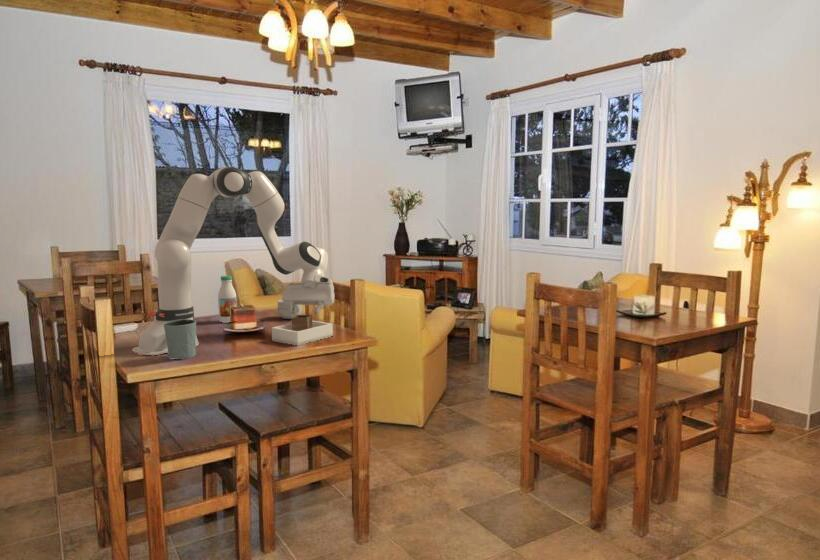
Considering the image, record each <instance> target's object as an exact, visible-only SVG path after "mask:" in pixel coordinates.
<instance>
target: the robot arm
mask: <svg viewBox="0 0 820 560" xmlns="http://www.w3.org/2000/svg"><path fill="white" fill-rule="evenodd" d="M239 196H244V197H245V198H246V199H247V200H248V202H249V203H250V205H251V206H252V208H253V210H254V211H255V214H256V220H255V222H256V223H255V224H256V226H257V230H258V232H259V234H260V236H261V238H262V241H263V243H264V245H265V246H266V247H265V248H266V249H267V251H268V253H269V255H270V257H271V260H272V264H273V266H274V268H275V270H276V271H277V272H278V273H280V274H282V275H290V274H292V273H294V272H296V271H297V270H299V271H300V270H302V271H303V273H302V276H301V280H300V283H297V282H296V283H294V282H293V283H292V282H291V283H288V284H286V286H285V287H284V291H283V294H282V297H281V300H283V302H284V303H285V304H287V305H290V306H291V313H296V309H295V307H293V306H295V305H302V306H317V307H314V310H313V312H314V314H315V315H318V314H320V311H322V309H323V308H324V306H332V305H333V304H335V299H336V298H335V297H336V296H335V286H334V282H333V281H332V279H331V278H329V277H325V276H326V274H327V271H328V266H329V255H328V253H327V251H326V250H325V249H324V248H323V247H315V246H314V245H313V244H312V243H310V242H307V241H301V242H299V243H296V244H294V245H291V246H289V247H287V248H286V247H284V246H283V245H282V243H281V240H280V239H279V237H278V234H277V232H276V230H275V226H276V223H277V222H278V220H279V219H280V218H281V217H282V215H283V213H284V210H285V202H284V199H283V197H282V196H281V195H280V193H279V191H278V189H277V188H276V187H275V185H274V184H273V183H272V182H271V180H270V179H269V178H268V177H267V175H266V174H264V173H263V172H262V171H259V170H255V171H251V172H245V171H244V170H242V169H240V168H238V167H235V166H222V167H219V168H217V169H214V170H213V171H212V172H211V173H209V174H208V175H205V174H203V173H193V174H191V175H190V176H189V177H188V178H187V180H186V181H185V183H184V184H183V187H182V188H181V190H180V192H179V194H178V196H177V199H176V201H175V203H174V206H173V209H172V210H171V213H170V216H169V218H168V219H167V220H168V221H167V222H166V224H165V226H164V227H163V231H162V232H161V235H160V237H159V238H158V241H157V243H156V245H155V249H154V257H155V260H156V261H157V262H156V263H157V293H158V305H159V306H158V307H159V308H158V309H157V310H156V311H155V310H150V311H148V315H149V317H155V318H154V320H153V322H151V323H150V324H149V325H148V326H147V327H146V328H145V329H144V330H143V331H142V332H141V333H140V335H139V338H138V339H139V340H138V346H136V347H133V348H132V350H131V352H132V351H134V352H136V353H141V354H150V355H151V354H152V355H154V354H161V353H167V352H168V346H167V340H166V335H165V329H164V323H166V322H168V321H173V320H180V319H191V320H195V311H194V306H193V299H192V252H191V247H192V246H193V243H194V242H195V240H196V238H197V236H198V235H199V232H200V231H201V230H202V229H201V228H202V226H203V224H204V221H205V219H206V216H207V214H208V212H209V210H210V207H211V205H212V204H211V203H212V202H213V200H214V199H215V198H216V197H224V198H235V197H236V198H237V197H239ZM195 343H196V347H198V346H199V344H200V342H199V339H198V337H197V335H196V342H195Z"/></svg>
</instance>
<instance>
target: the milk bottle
mask: <svg viewBox="0 0 820 560" xmlns="http://www.w3.org/2000/svg"><path fill="white" fill-rule="evenodd" d="M232 279H233V277H232V275H222V276H220V282H221V286H220V288H219V291H218V294H217V303H218V304H217V306H218V320H219V323H221V322H222V324H228V323H229V322H230V311H231V308H232V307H237V308H238V301H237V292H236V289H235V288H234V286H233V283H232V282H233V280H232Z"/></svg>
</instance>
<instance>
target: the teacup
mask: <svg viewBox="0 0 820 560" xmlns="http://www.w3.org/2000/svg"><path fill="white" fill-rule="evenodd" d="M293 307H295V309H296V313H291V306H290V305H287V304H285V303H284V302H283V300H282V299H279V300H277V314H278V315H279V316H280V317H281V318H282V319H284V320H286V319H287V320H292V318H293V317H294V316H296V315H302V313H303V311H302V310H303V305H295V306H293Z"/></svg>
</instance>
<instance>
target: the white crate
mask: <svg viewBox="0 0 820 560" xmlns="http://www.w3.org/2000/svg"><path fill="white" fill-rule="evenodd" d="M333 326H334V325H333V323H331V322H326V321H325V322H323V321H319V320H318V321H317V320H312V328H310V329H306V330H302V331H292V322H291V323H287V324H282V325H277V326H273V327H271V340H272V342H277V343H282V344H286V343H287V345H291V344H292V346H296V345H297V347H299V346H302V344H303V345H306V343H307V344H310V343H309V342H311V343H315V342H317V340H318V341H321V340H320V339H322V340H325V339H328V337H329V338H332V337H331V336H333V337H334V329H333V328H334V327H333ZM324 338H325V339H324ZM298 345H299V346H298Z"/></svg>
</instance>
